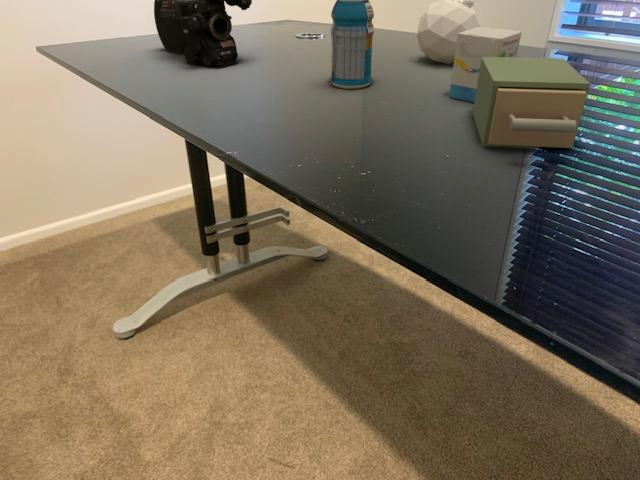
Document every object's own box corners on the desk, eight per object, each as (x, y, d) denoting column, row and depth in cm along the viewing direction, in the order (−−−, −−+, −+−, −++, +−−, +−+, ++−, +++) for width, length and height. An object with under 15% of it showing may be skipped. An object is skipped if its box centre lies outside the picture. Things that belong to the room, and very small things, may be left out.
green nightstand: (572, 150, 73) (590, 83, 68) (482, 146, 75) (493, 80, 70) (549, 117, 85) (563, 58, 80) (472, 114, 87) (481, 56, 82)
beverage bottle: (341, 92, 99) (343, -22, 88) (323, 81, 106) (323, -26, 95) (379, 86, 102) (384, -25, 91) (359, 76, 108) (362, -28, 98)
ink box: (489, 106, 90) (501, 37, 84) (447, 97, 95) (455, 32, 89) (510, 95, 96) (523, 30, 89) (469, 87, 101) (479, 25, 94)
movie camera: (271, 57, 122) (261, -25, 112) (208, 74, 112) (191, -13, 103) (203, 44, 142) (189, -26, 132) (144, 58, 132) (125, -17, 123)
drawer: (580, 160, 68) (597, 103, 64) (493, 156, 69) (503, 100, 65) (550, 117, 83) (562, 68, 78) (478, 114, 84) (486, 66, 80)
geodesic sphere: (498, 31, 119) (468, -24, 115) (493, 43, 107) (459, -17, 104) (443, 67, 127) (412, 17, 124) (432, 82, 116) (399, 27, 112)
